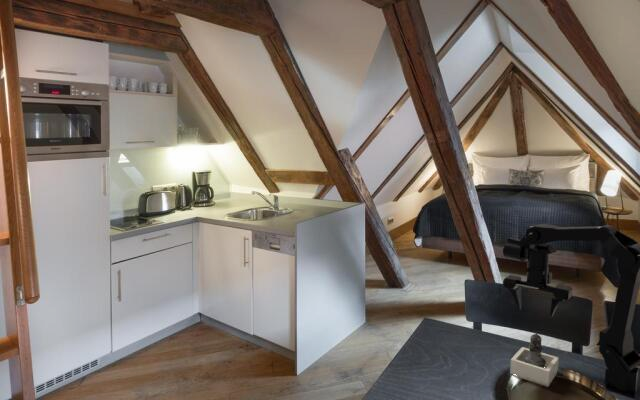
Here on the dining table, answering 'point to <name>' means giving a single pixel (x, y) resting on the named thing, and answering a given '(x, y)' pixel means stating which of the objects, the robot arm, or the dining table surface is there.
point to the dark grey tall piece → (535, 352)
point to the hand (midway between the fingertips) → (535, 313)
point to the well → (534, 368)
